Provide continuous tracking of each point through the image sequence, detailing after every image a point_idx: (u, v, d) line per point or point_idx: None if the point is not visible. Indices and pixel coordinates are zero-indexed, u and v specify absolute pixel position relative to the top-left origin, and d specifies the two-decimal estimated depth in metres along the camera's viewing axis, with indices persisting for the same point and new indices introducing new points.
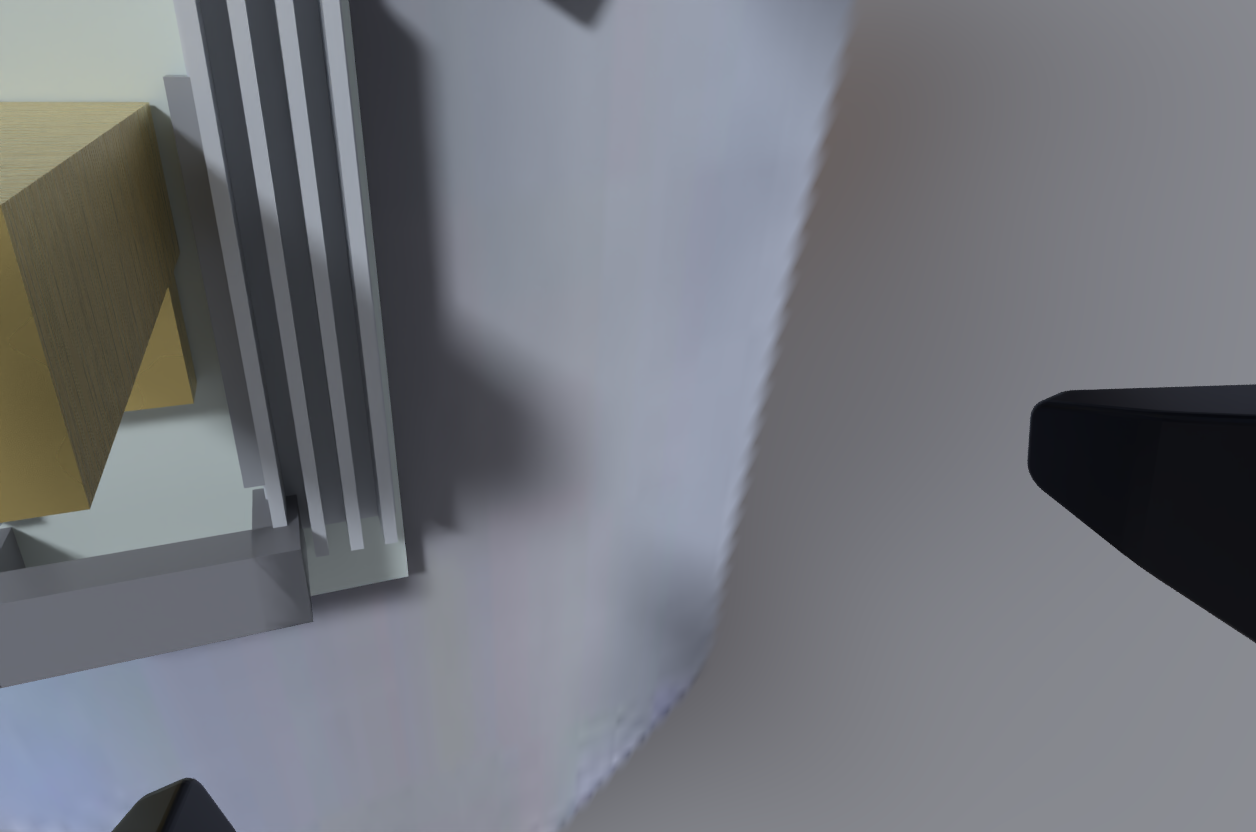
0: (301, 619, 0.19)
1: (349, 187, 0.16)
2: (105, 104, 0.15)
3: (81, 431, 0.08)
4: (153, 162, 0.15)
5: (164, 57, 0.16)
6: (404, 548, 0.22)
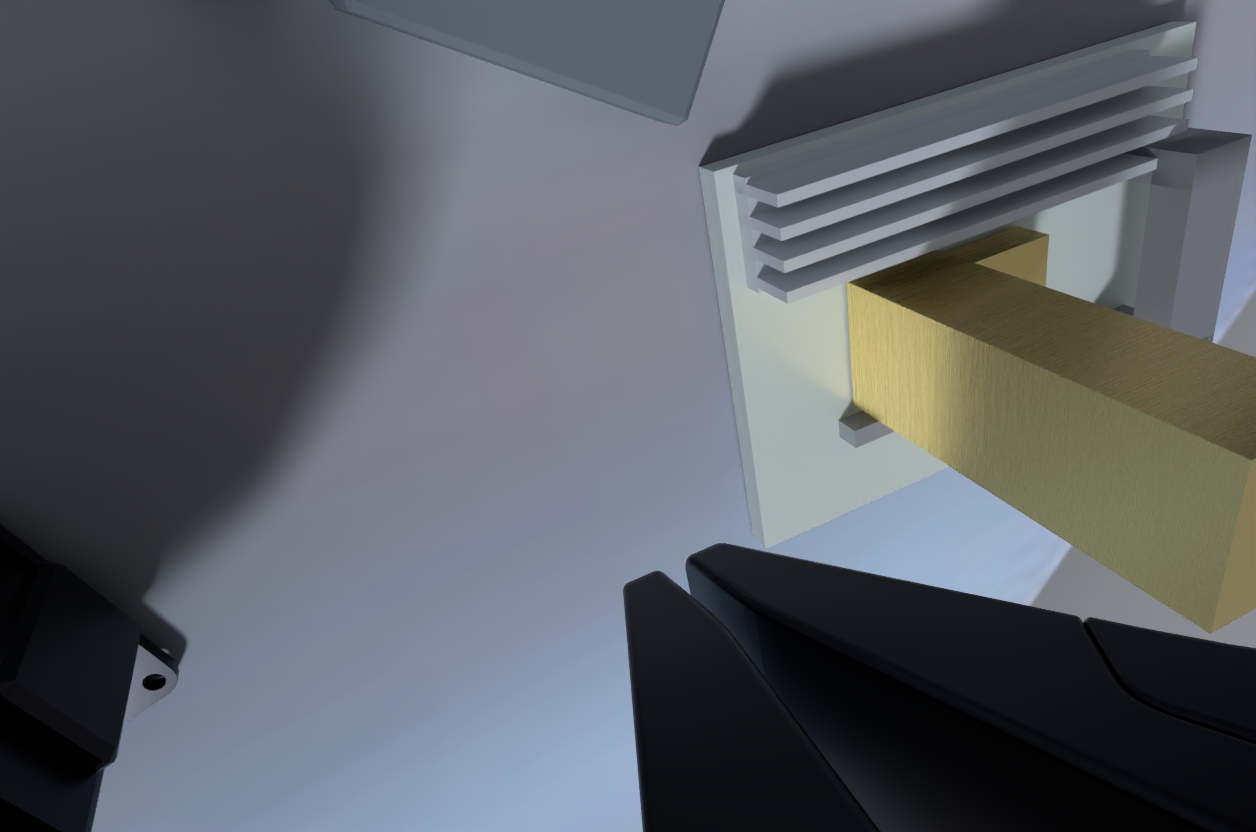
0: (1246, 144, 0.22)
1: (936, 150, 0.19)
2: (859, 309, 0.22)
3: None
4: (904, 282, 0.22)
5: None
6: (1172, 30, 0.23)
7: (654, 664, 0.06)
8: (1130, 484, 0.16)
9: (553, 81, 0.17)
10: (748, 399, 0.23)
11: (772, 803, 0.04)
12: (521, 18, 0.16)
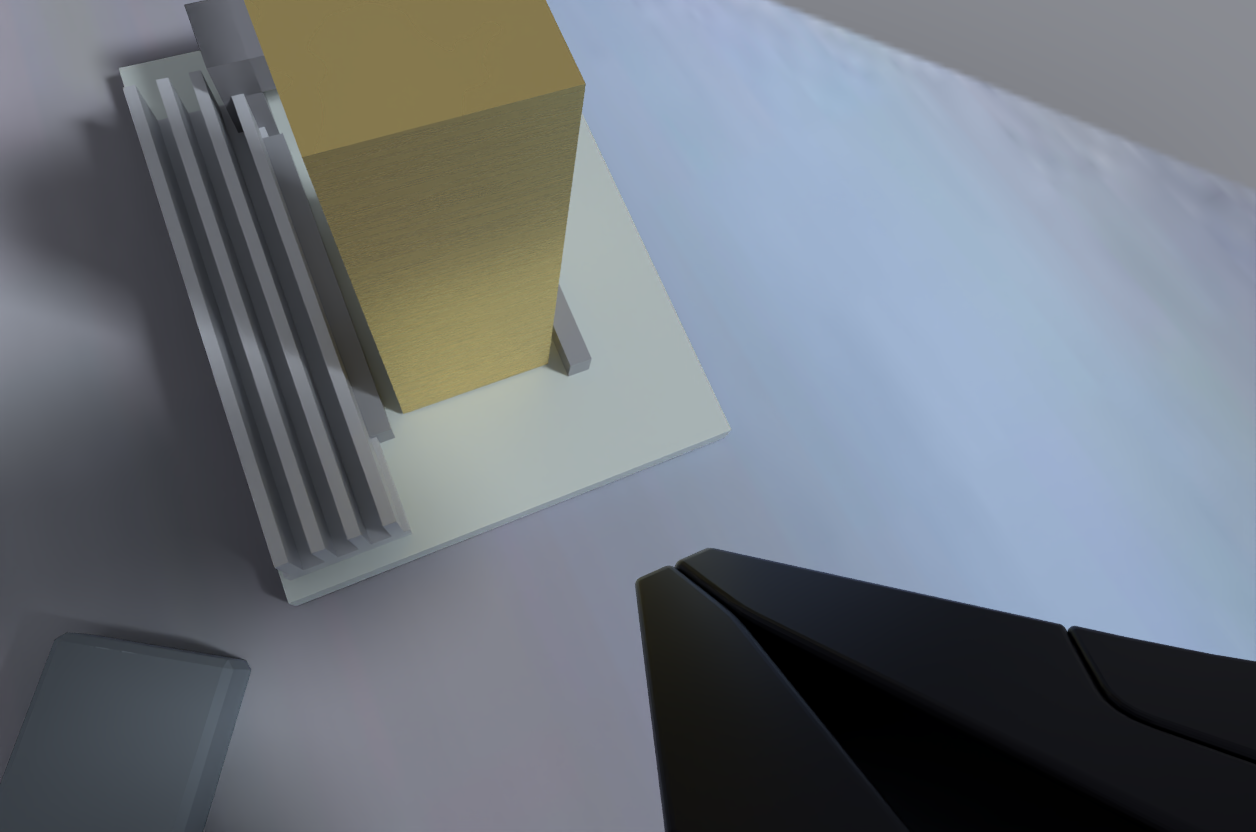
0: (195, 6, 0.20)
1: (225, 383, 0.19)
2: (426, 398, 0.21)
3: None
4: None
5: (398, 448, 0.21)
6: None
7: (669, 657, 0.06)
8: (438, 205, 0.13)
9: (188, 817, 0.17)
10: (543, 498, 0.21)
11: (793, 792, 0.04)
12: None
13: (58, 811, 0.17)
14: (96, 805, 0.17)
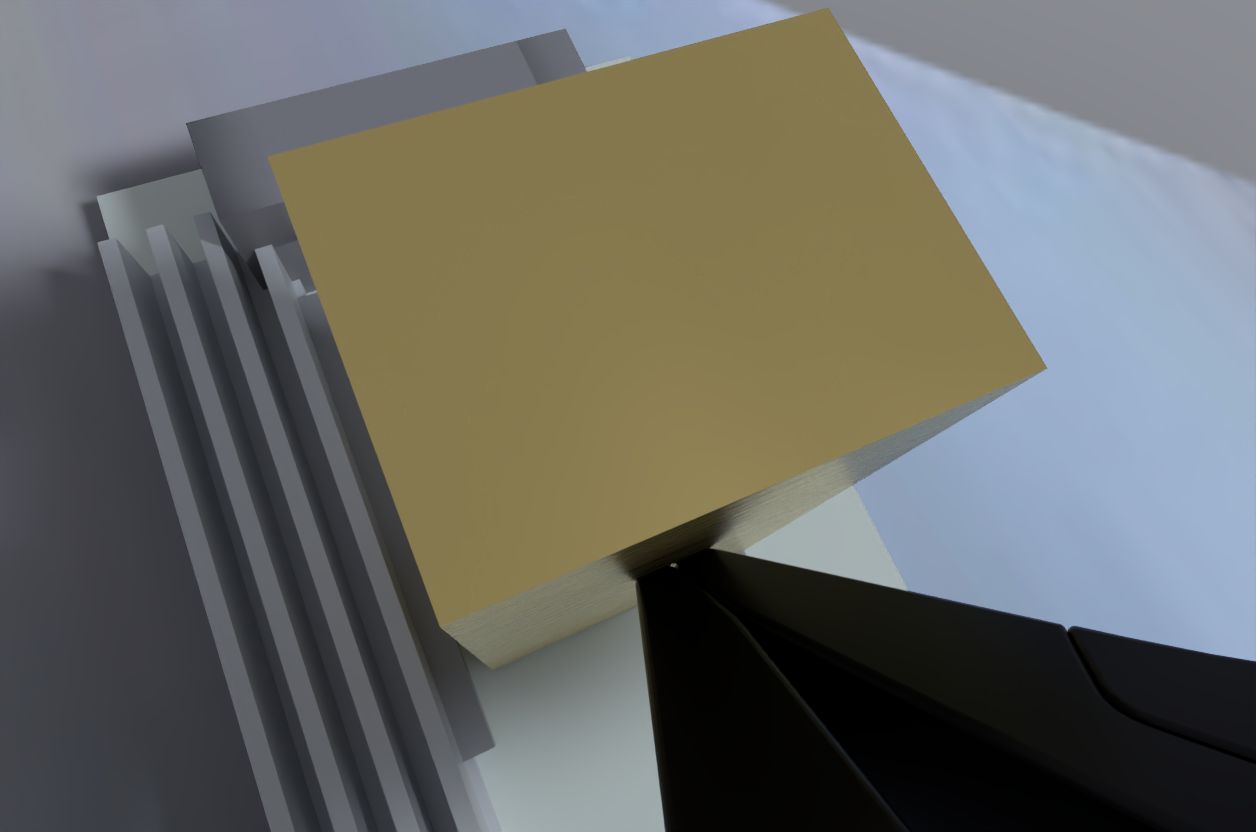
0: (202, 125, 0.14)
1: (251, 715, 0.12)
2: (528, 653, 0.14)
3: None
4: None
5: (501, 762, 0.14)
6: (109, 234, 0.16)
7: (669, 657, 0.06)
8: (663, 558, 0.06)
9: None
10: None
11: (793, 792, 0.04)
12: None
13: None
14: None
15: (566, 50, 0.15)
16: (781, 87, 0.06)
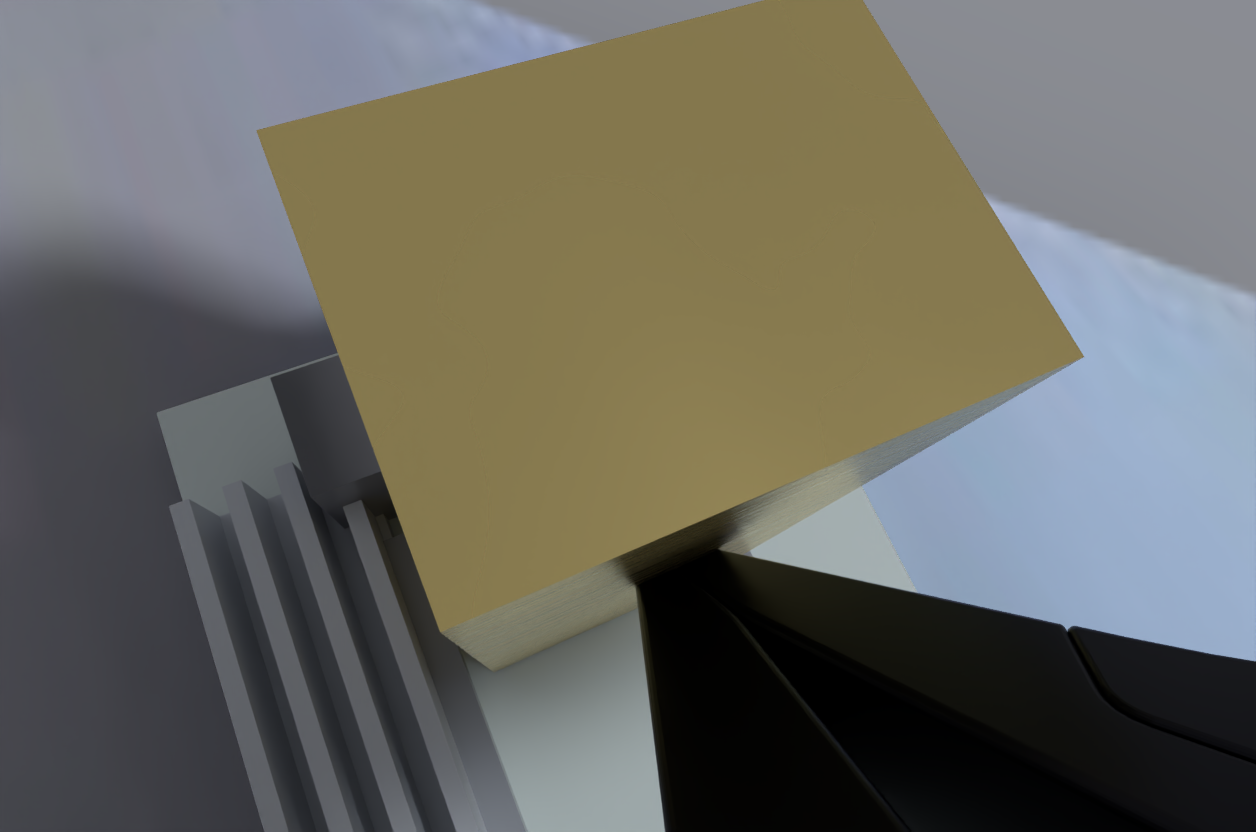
0: (288, 379, 0.12)
1: None
2: (530, 654, 0.14)
3: None
4: None
5: None
6: (171, 457, 0.15)
7: (669, 657, 0.06)
8: (674, 558, 0.06)
9: None
10: None
11: (792, 792, 0.04)
12: None
13: None
14: None
15: None
16: (803, 60, 0.05)
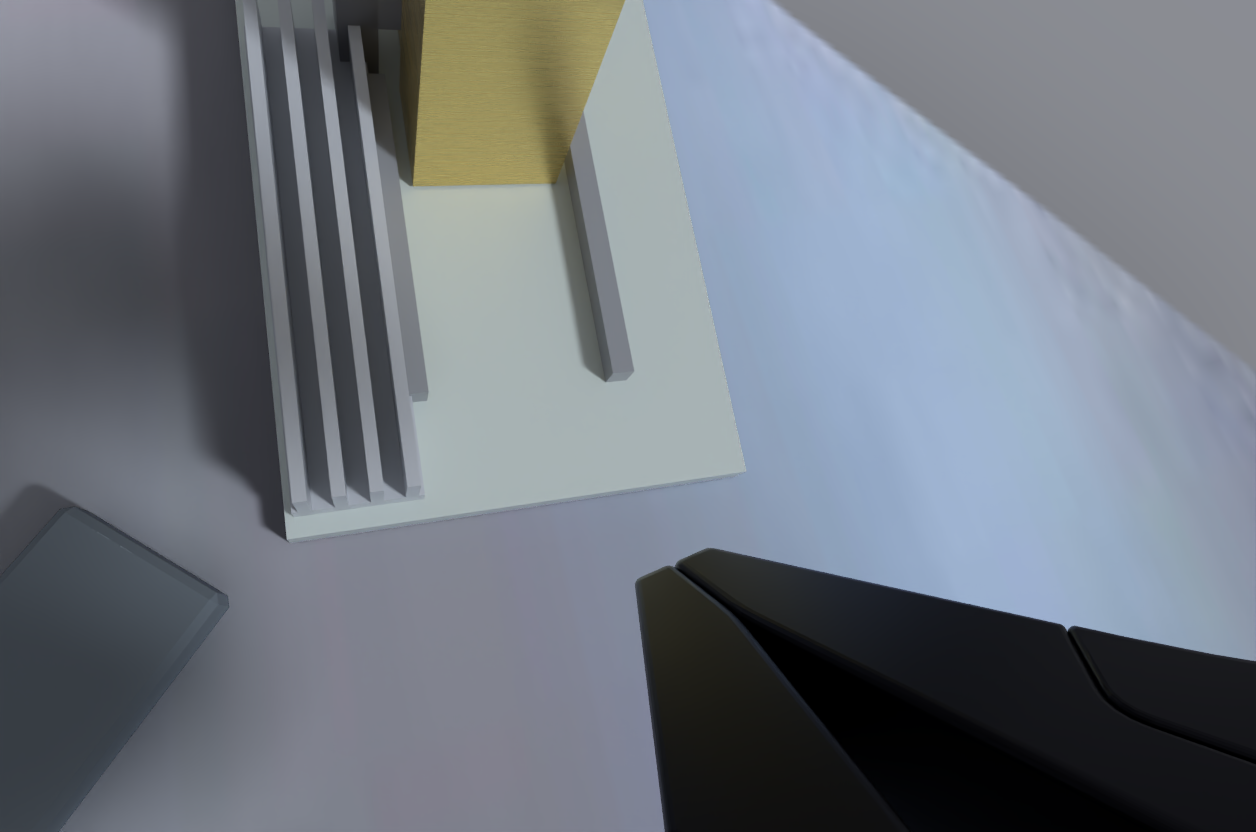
0: None
1: (281, 308, 0.18)
2: (439, 175, 0.22)
3: None
4: (409, 128, 0.21)
5: (427, 412, 0.21)
6: None
7: (669, 657, 0.06)
8: None
9: (118, 734, 0.17)
10: (556, 494, 0.21)
11: (792, 791, 0.04)
12: (36, 761, 0.16)
13: None
14: (36, 689, 0.16)
15: None
16: None
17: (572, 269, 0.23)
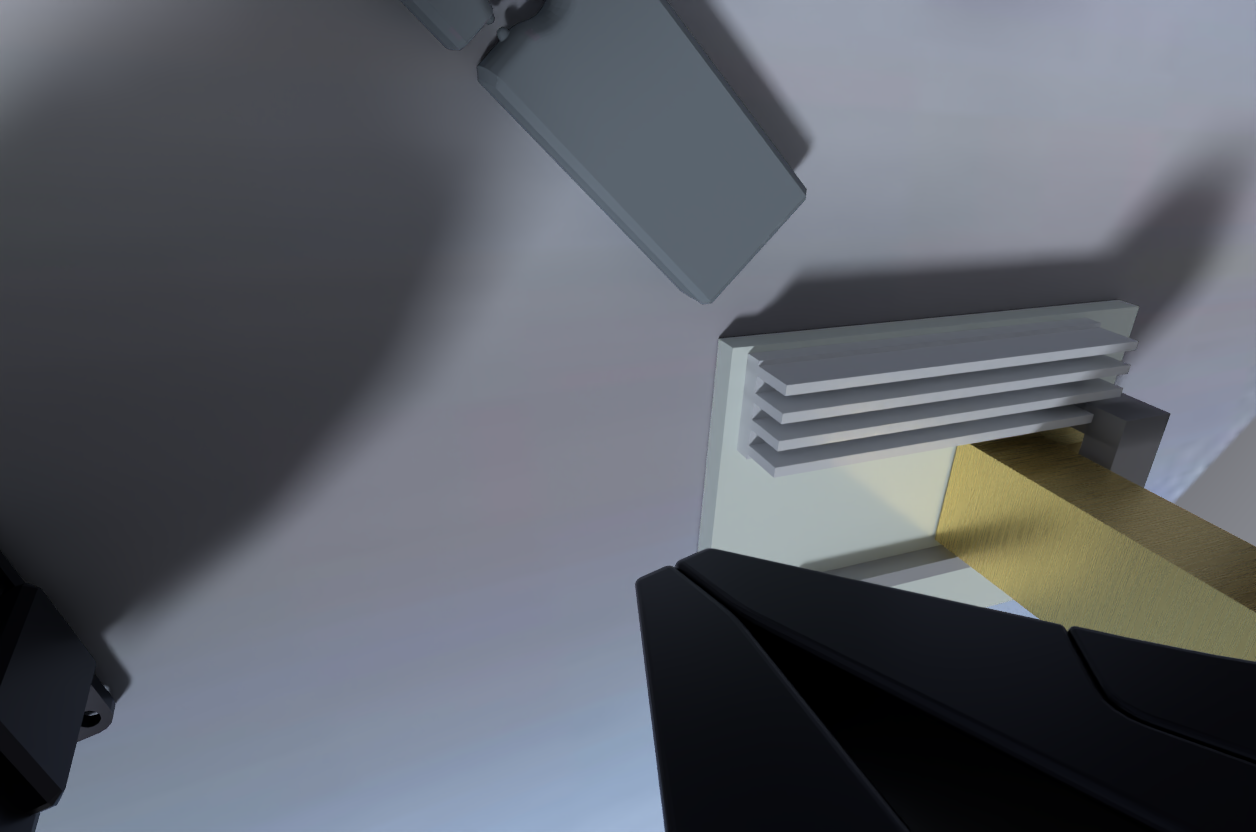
0: (1165, 420, 0.26)
1: (922, 373, 0.22)
2: (967, 463, 0.27)
3: None
4: (1010, 449, 0.26)
5: None
6: (1119, 309, 0.28)
7: (669, 657, 0.06)
8: (1206, 652, 0.20)
9: (625, 223, 0.19)
10: (714, 547, 0.25)
11: (792, 792, 0.04)
12: (626, 163, 0.18)
13: (696, 137, 0.18)
14: (681, 166, 0.19)
15: None
16: None
17: (871, 552, 0.28)
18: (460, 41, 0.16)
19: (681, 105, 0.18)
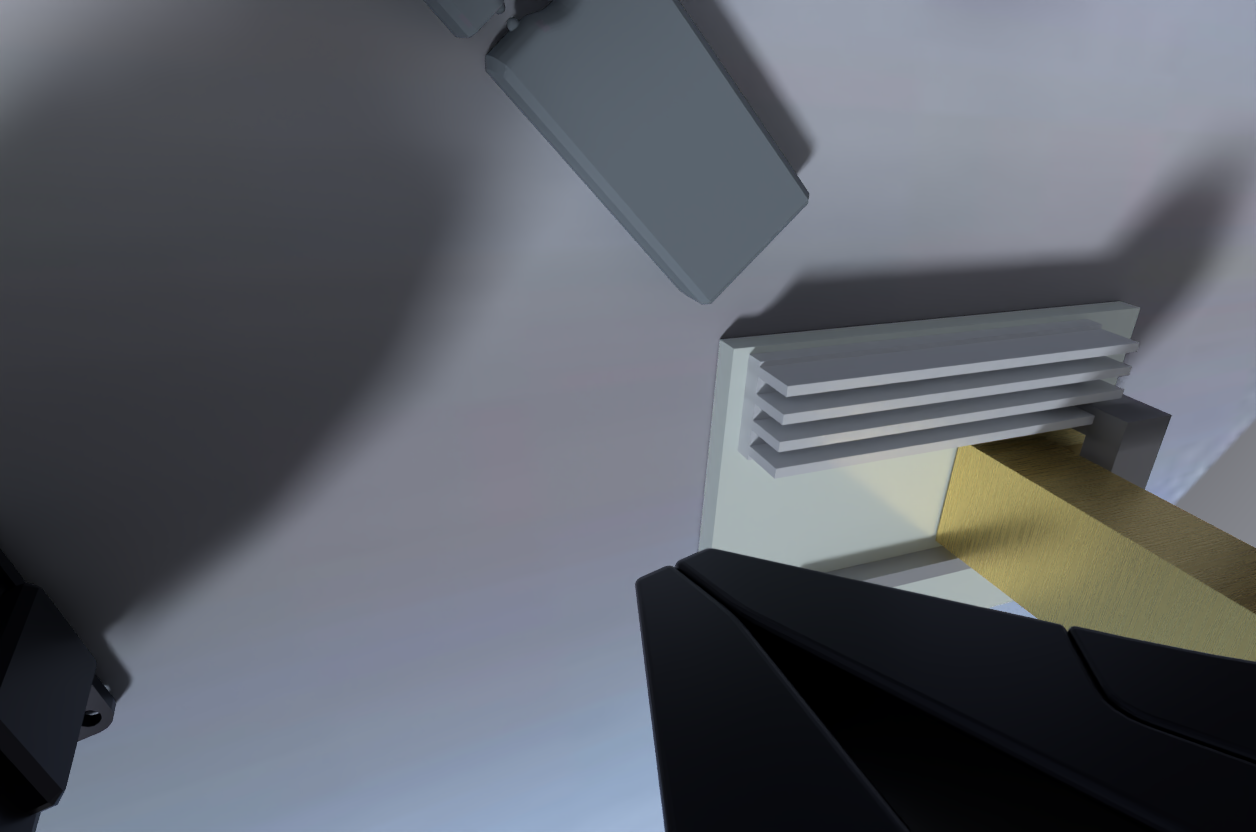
0: (1166, 422, 0.26)
1: (923, 375, 0.22)
2: (967, 464, 0.27)
3: None
4: (1010, 451, 0.26)
5: None
6: (1120, 310, 0.28)
7: (670, 657, 0.06)
8: None
9: (627, 219, 0.19)
10: None
11: (793, 792, 0.04)
12: (631, 159, 0.18)
13: (702, 136, 0.18)
14: (686, 164, 0.19)
15: None
16: None
17: (872, 553, 0.28)
18: (470, 28, 0.16)
19: (688, 103, 0.18)
